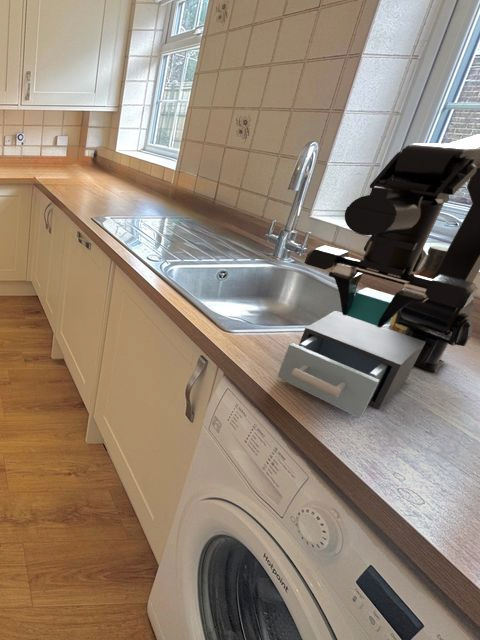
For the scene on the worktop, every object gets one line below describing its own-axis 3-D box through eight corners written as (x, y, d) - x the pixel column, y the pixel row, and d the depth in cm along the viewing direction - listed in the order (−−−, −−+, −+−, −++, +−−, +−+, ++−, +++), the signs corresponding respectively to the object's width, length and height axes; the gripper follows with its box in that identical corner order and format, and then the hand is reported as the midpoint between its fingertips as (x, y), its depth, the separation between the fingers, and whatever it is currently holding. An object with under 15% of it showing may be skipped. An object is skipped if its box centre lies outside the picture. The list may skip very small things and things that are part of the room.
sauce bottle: (435, 344, 86) (481, 256, 79) (400, 340, 87) (443, 253, 80) (410, 328, 92) (451, 245, 85) (378, 325, 93) (416, 242, 86)
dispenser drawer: (349, 428, 61) (367, 391, 58) (265, 384, 70) (277, 351, 67) (386, 392, 69) (403, 358, 67) (307, 357, 78) (319, 326, 76)
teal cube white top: (356, 309, 72) (366, 287, 70) (389, 321, 68) (400, 297, 67) (346, 315, 70) (355, 292, 68) (380, 327, 66) (391, 303, 65)
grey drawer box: (378, 409, 66) (400, 364, 63) (290, 367, 76) (305, 327, 73) (404, 382, 73) (425, 341, 70) (320, 347, 83) (335, 310, 80)
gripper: (507, 242, 59) (456, 335, 64) (345, 211, 73) (315, 289, 79) (492, 253, 53) (437, 354, 59) (319, 217, 68) (289, 301, 73)
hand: (361, 320), depth 67 cm, fingers closed on teal cube white top, 4 cm apart
